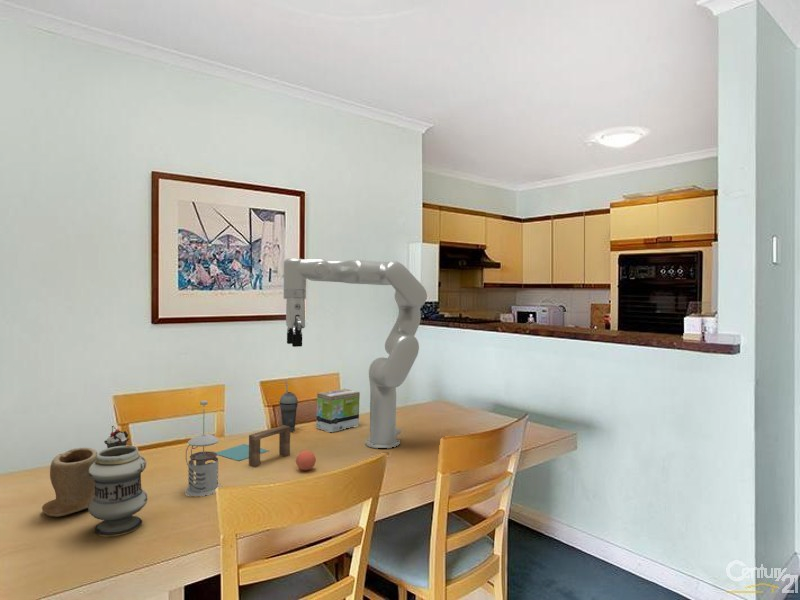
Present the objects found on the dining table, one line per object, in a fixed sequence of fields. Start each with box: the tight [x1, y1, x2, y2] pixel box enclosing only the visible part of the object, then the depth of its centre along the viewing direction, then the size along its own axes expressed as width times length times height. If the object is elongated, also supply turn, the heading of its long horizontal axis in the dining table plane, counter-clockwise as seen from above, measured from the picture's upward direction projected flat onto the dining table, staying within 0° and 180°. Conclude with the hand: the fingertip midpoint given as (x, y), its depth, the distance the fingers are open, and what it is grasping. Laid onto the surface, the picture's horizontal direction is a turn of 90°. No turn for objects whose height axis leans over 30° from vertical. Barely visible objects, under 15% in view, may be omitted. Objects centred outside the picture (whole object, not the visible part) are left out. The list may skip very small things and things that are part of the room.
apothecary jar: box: [87, 445, 148, 538], centre depth 118 cm, size 12×12×18 cm
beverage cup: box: [279, 380, 299, 433], centre depth 201 cm, size 7×7×20 cm
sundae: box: [104, 425, 130, 449], centre depth 153 cm, size 7×7×15 cm
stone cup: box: [41, 447, 98, 518], centre depth 128 cm, size 15×12×15 cm
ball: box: [295, 449, 317, 471], centre depth 158 cm, size 6×6×6 cm
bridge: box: [248, 425, 291, 468], centre depth 167 cm, size 3×15×10 cm, turn 147°
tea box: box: [315, 388, 361, 433], centre depth 208 cm, size 15×10×15 cm
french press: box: [184, 399, 222, 497], centre depth 141 cm, size 10×12×25 cm
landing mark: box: [216, 443, 270, 462], centre depth 174 cm, size 13×13×1 cm
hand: (294, 345), depth 173 cm, fingers open, 9 cm apart
